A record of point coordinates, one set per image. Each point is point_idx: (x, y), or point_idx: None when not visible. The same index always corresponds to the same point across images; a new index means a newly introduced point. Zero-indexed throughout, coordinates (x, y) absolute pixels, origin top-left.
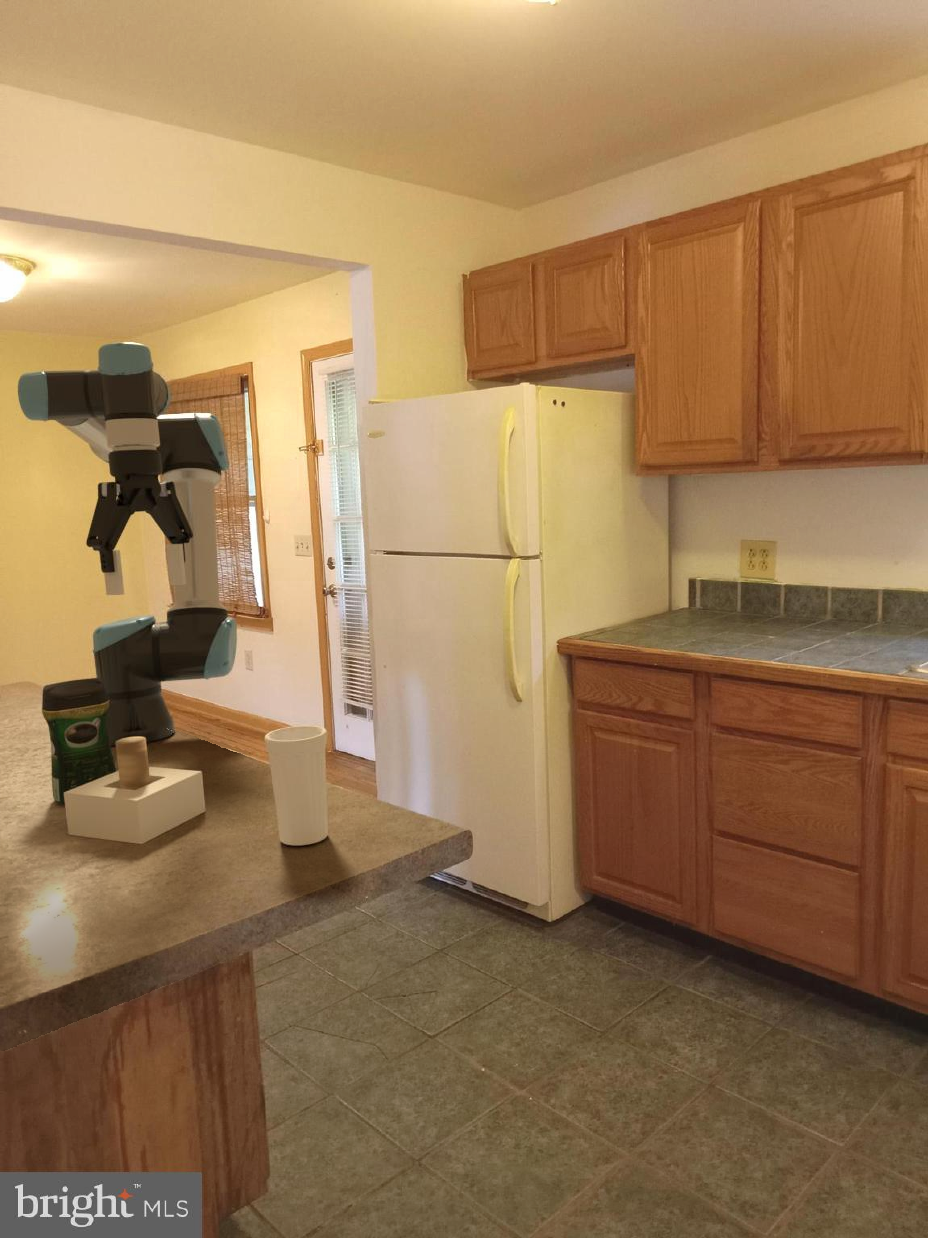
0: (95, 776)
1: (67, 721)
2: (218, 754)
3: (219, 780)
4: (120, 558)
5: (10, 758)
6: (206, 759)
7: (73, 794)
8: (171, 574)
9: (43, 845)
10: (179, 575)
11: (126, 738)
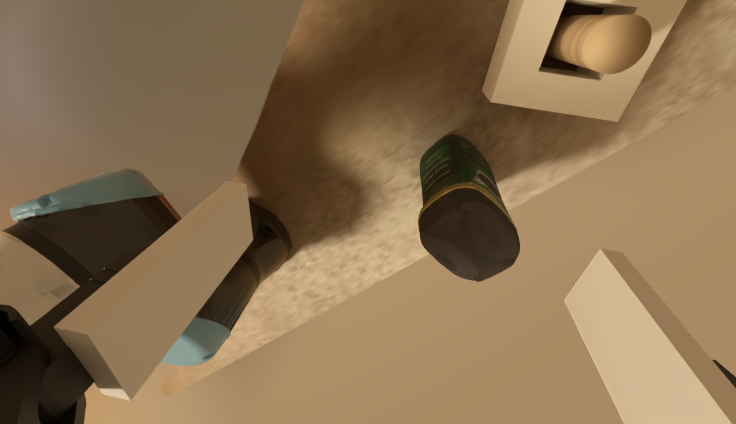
0: (476, 155)
1: (506, 210)
2: (280, 98)
3: (383, 25)
4: (723, 412)
5: (342, 301)
6: (303, 103)
7: (626, 104)
8: (230, 256)
9: (624, 115)
10: (227, 217)
11: (601, 64)
